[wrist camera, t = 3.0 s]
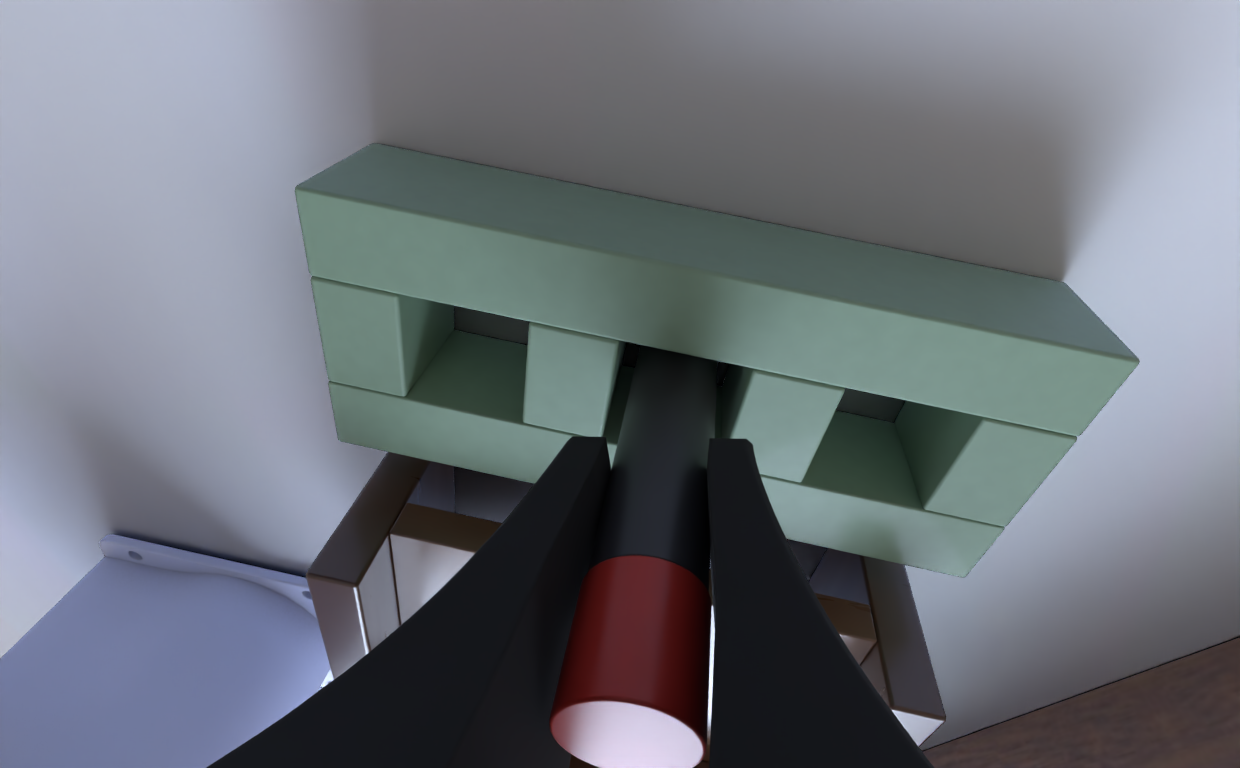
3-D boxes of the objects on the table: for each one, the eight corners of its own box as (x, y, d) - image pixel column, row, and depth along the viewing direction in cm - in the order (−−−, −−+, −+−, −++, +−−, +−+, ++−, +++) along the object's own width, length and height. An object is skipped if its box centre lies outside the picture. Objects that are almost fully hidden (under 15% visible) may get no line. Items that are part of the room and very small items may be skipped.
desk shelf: (426, 583, 23) (349, 744, 18) (414, 411, 18) (303, 574, 13) (795, 667, 22) (811, 853, 18) (891, 514, 17) (949, 721, 13)
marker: (636, 357, 15) (542, 756, 8) (649, 291, 14) (554, 684, 7) (710, 373, 15) (687, 791, 8) (729, 308, 14) (724, 723, 7)
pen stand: (931, 485, 16) (965, 578, 14) (393, 370, 17) (337, 441, 14) (1066, 281, 13) (1144, 360, 10) (372, 141, 13) (291, 186, 11)
